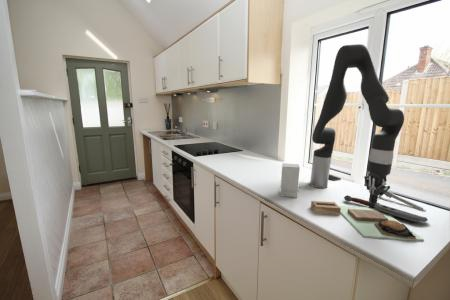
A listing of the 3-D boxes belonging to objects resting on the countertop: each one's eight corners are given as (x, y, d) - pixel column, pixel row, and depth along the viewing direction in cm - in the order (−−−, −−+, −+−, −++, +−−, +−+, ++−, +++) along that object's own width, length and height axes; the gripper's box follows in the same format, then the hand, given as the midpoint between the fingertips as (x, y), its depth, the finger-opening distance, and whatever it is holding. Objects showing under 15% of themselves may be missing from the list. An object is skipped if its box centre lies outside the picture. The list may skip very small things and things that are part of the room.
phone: (333, 179, 137) (313, 172, 150) (332, 181, 137) (313, 174, 150) (341, 178, 140) (322, 171, 153) (341, 180, 140) (322, 173, 153)
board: (377, 210, 93) (347, 208, 94) (388, 219, 86) (356, 217, 87) (376, 214, 93) (347, 212, 94) (387, 222, 87) (356, 220, 87)
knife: (349, 192, 111) (429, 215, 90) (348, 196, 112) (428, 220, 90) (342, 196, 106) (426, 222, 84) (341, 200, 106) (424, 227, 84)
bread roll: (382, 235, 78) (384, 226, 77) (373, 223, 86) (374, 214, 85) (418, 241, 75) (420, 231, 74) (405, 228, 83) (407, 219, 82)
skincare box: (296, 193, 114) (299, 164, 111) (297, 198, 108) (300, 167, 105) (279, 191, 116) (282, 162, 113) (279, 196, 110) (282, 165, 107)
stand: (310, 207, 99) (311, 200, 98) (333, 208, 99) (334, 202, 98) (315, 213, 93) (316, 206, 93) (339, 214, 93) (340, 208, 92)
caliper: (374, 196, 116) (376, 184, 114) (375, 195, 116) (377, 184, 115) (425, 212, 99) (428, 199, 98) (426, 211, 100) (429, 198, 99)
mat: (334, 206, 101) (334, 205, 100) (379, 209, 100) (379, 207, 100) (363, 237, 77) (363, 235, 77) (423, 241, 76) (423, 239, 76)
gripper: (360, 156, 92) (354, 195, 96) (380, 164, 79) (372, 209, 83) (379, 157, 92) (372, 196, 95) (402, 165, 79) (393, 211, 82)
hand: (372, 202), depth 89 cm, fingers closed
